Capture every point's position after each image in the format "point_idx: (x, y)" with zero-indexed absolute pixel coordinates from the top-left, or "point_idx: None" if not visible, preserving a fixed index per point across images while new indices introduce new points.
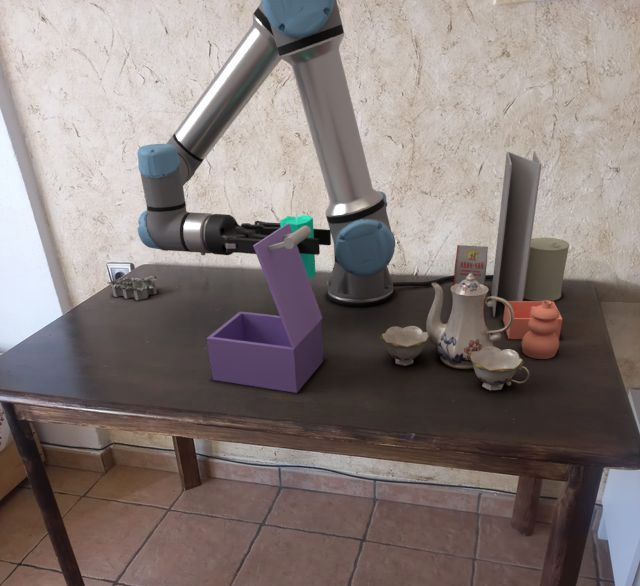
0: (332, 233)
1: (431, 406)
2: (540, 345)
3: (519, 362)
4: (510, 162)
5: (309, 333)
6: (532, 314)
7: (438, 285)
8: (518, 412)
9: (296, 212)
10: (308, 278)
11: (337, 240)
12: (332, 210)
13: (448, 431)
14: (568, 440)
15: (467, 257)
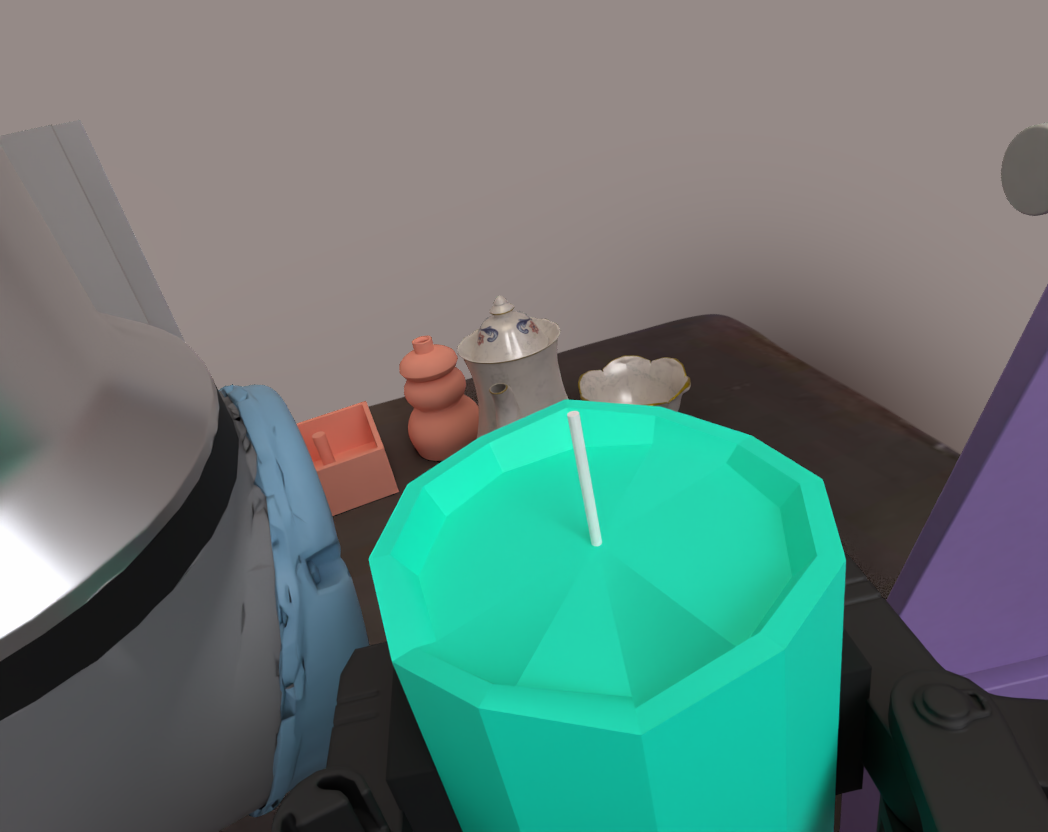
0: (142, 714)
1: (808, 468)
2: (477, 406)
3: (616, 367)
4: (4, 135)
5: (1010, 664)
6: (442, 370)
7: (501, 384)
8: (709, 390)
9: (572, 439)
10: (903, 567)
11: (323, 609)
12: (81, 515)
13: (867, 420)
14: (739, 342)
15: None
